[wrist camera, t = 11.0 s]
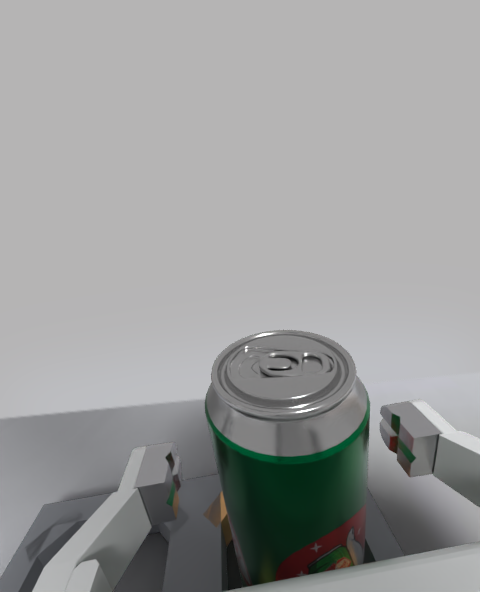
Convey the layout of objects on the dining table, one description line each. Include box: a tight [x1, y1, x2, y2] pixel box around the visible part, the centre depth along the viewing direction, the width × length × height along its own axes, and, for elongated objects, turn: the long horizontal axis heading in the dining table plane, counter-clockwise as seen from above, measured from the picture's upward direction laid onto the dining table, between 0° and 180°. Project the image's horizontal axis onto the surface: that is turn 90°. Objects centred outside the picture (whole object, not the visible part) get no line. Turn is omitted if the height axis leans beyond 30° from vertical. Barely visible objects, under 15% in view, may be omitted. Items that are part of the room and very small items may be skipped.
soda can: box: [205, 330, 370, 588], centre depth 10 cm, size 5×5×12 cm
